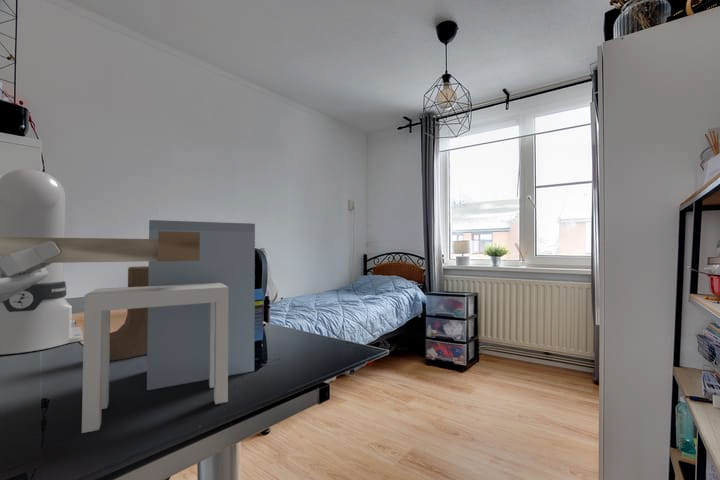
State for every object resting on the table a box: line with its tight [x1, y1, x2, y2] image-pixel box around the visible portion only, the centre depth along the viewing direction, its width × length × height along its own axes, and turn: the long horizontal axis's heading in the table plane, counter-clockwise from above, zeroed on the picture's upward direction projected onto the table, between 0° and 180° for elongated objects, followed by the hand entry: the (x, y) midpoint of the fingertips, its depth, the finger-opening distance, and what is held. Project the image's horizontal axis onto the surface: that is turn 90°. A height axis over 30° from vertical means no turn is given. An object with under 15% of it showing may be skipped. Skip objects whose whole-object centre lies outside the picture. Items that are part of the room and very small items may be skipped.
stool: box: [81, 283, 229, 434], centre depth 47 cm, size 8×16×16 cm, turn 120°
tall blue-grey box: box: [146, 219, 256, 391], centre depth 60 cm, size 10×16×26 cm, turn 120°
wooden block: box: [109, 265, 149, 363], centre depth 69 cm, size 9×4×18 cm, turn 135°
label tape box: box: [254, 288, 265, 343], centre depth 78 cm, size 9×4×12 cm, turn 141°
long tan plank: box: [0, 231, 200, 264], centre depth 44 cm, size 5×21×4 cm, turn 120°
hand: (62, 246), depth 42 cm, fingers closed on long tan plank, 3 cm apart
